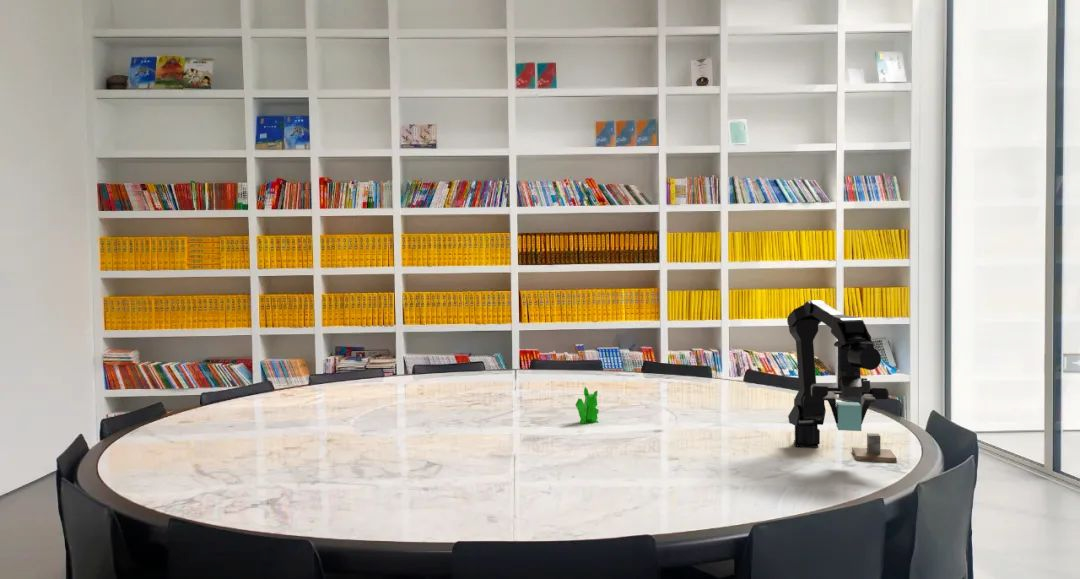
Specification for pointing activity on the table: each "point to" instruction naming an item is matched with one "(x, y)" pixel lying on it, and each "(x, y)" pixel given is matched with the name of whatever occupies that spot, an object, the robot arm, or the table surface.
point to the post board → (874, 457)
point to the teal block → (848, 416)
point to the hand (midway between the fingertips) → (848, 423)
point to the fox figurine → (588, 408)
